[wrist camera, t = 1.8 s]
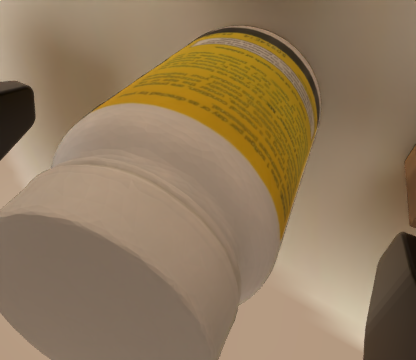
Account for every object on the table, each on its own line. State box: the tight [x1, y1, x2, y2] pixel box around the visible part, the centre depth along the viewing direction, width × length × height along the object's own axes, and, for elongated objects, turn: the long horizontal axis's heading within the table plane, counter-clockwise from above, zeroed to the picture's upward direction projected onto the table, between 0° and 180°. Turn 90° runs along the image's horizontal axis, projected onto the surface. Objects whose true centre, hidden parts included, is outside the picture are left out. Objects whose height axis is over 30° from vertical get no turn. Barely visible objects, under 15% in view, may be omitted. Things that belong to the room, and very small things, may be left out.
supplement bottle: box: [0, 26, 321, 360], centre depth 9 cm, size 5×5×8 cm
